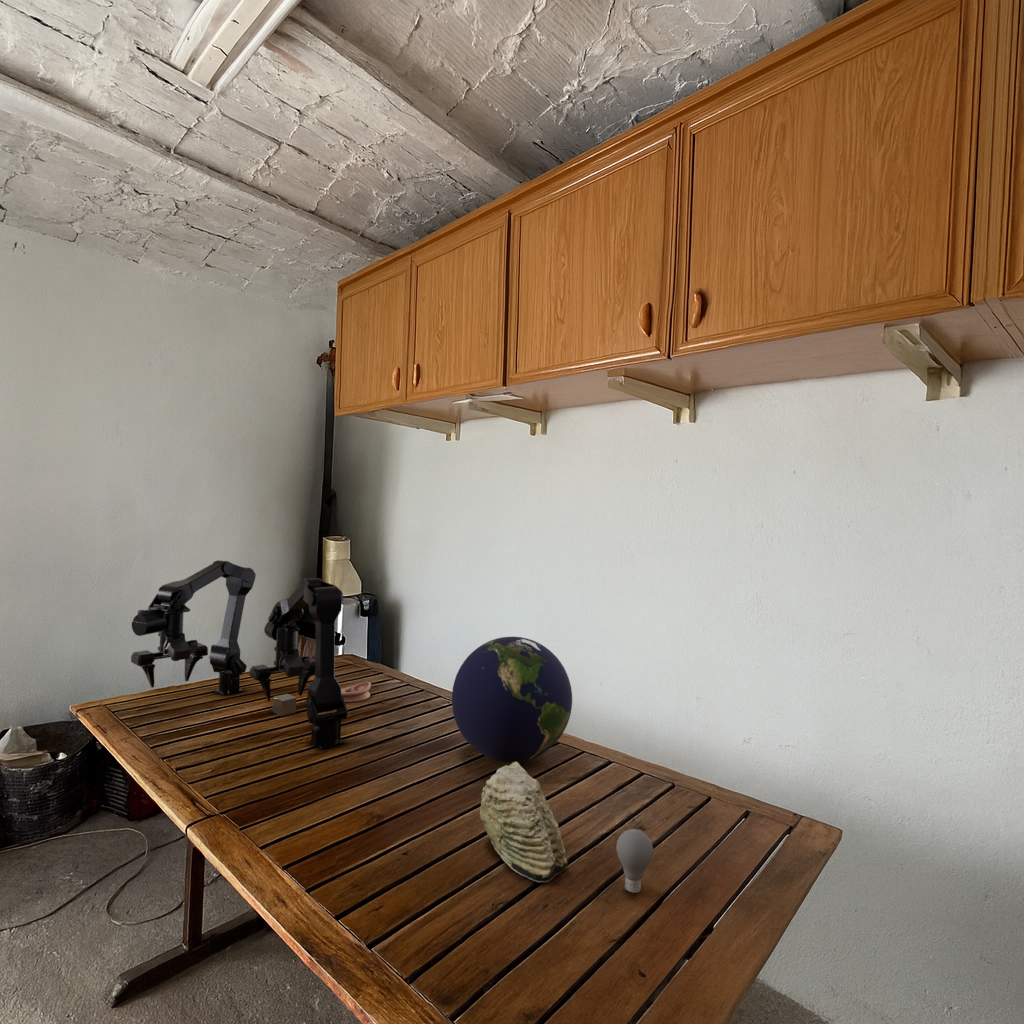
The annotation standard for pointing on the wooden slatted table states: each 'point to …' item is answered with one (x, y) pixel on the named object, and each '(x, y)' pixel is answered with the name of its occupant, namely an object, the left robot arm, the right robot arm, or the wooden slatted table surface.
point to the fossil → (522, 824)
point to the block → (284, 705)
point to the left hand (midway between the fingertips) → (169, 684)
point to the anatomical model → (356, 692)
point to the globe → (512, 699)
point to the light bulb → (634, 857)
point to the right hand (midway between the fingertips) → (284, 698)
